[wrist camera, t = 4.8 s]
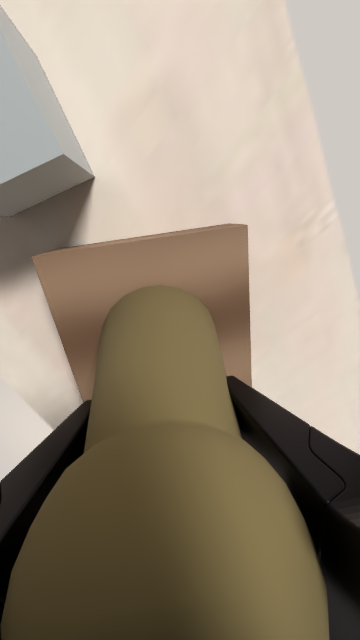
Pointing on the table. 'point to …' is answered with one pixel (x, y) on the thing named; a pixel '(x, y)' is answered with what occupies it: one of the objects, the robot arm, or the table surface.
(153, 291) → the olive game pawn
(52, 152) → the slate cube
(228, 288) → the walnut block
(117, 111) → the table surface
